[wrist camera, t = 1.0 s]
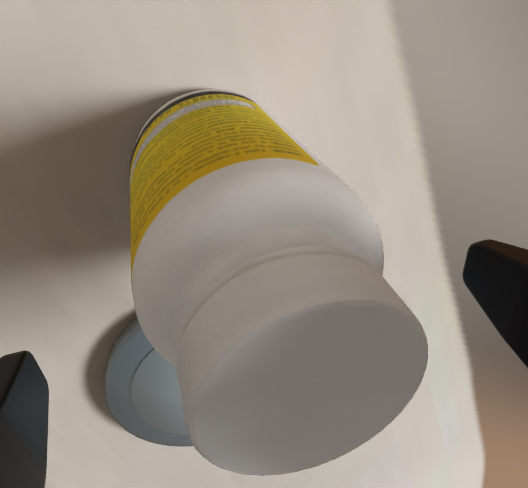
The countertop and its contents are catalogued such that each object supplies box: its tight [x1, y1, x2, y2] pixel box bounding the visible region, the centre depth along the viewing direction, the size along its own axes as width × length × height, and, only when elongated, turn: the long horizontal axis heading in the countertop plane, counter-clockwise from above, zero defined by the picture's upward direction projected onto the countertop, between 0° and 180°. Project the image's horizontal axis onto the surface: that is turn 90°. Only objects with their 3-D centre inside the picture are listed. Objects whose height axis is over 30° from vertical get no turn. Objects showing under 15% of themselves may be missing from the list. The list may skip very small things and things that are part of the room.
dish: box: [105, 318, 194, 446], centre depth 19 cm, size 9×9×1 cm
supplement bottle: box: [130, 89, 428, 476], centre depth 10 cm, size 5×5×10 cm
